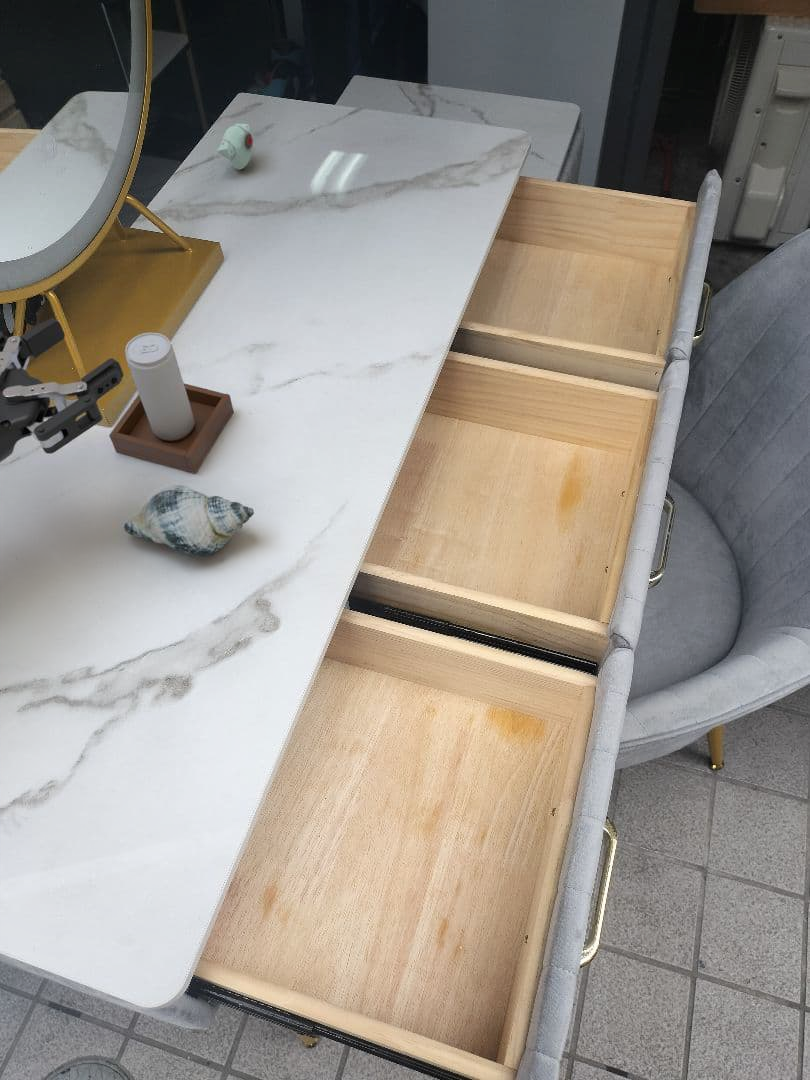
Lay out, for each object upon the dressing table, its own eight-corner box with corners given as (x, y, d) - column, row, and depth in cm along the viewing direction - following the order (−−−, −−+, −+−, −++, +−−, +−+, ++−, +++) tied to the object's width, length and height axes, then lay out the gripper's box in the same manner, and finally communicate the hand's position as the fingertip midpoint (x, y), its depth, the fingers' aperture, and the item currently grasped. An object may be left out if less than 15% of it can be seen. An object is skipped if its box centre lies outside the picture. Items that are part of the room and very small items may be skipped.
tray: (116, 452, 92) (108, 435, 89) (158, 392, 97) (152, 374, 95) (195, 474, 90) (190, 457, 88) (234, 411, 95) (229, 394, 93)
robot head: (242, 152, 126) (235, 108, 121) (266, 158, 126) (260, 114, 120) (218, 180, 122) (209, 136, 117) (242, 185, 121) (235, 141, 116)
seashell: (168, 507, 89) (256, 553, 86) (117, 534, 83) (209, 585, 80) (171, 456, 86) (263, 503, 82) (118, 481, 80) (214, 532, 76)
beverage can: (151, 416, 94) (123, 335, 84) (194, 409, 94) (170, 328, 85) (154, 447, 91) (124, 367, 81) (197, 440, 92) (173, 359, 82)
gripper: (-30, 461, 64) (128, 349, 71) (-132, 380, 69) (26, 282, 76) (7, 516, 70) (150, 408, 78) (-88, 438, 75) (54, 343, 82)
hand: (88, 346), depth 77 cm, fingers open, 8 cm apart
